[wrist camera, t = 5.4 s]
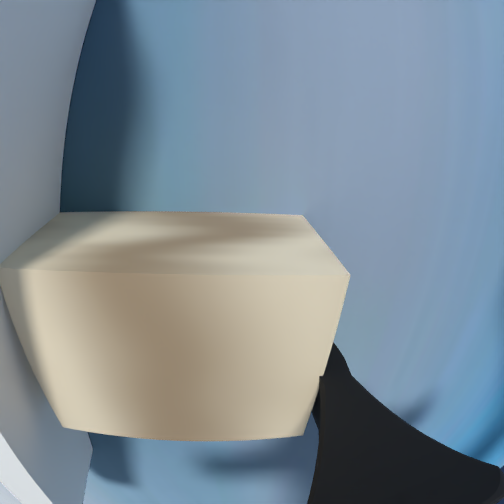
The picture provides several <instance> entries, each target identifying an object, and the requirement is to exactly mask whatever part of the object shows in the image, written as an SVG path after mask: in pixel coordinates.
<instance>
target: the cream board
mask: <svg viewBox="0 0 504 504" xmlns="http://www.w3.org/2000/svg"><path fill="white" fill-rule="evenodd" d="M95 2H96V0H0V264H1V263H2V262H3V261H4V260H5V259H6V258H7V257H8V256H9V255H10V254H12V253H13V252H14V251H15V250H16V249H17V248H18V247H19V246H21V245H22V244H23V243H24V242H25V241H26V240H27V239H29V238H30V237H31V236H32V235H33V234H34V233H36V232H37V231H38V230H39V229H40V228H42V227H43V226H44V225H45V224H46V223H48V222H49V221H50V220H51V219H53V218H54V217H55V216H56V215H58V214H59V213H60V191H61V174H62V162H63V151H64V142H65V134H66V126H67V119H68V113H69V106H70V101H71V95H72V90H73V84H74V80H75V75H76V70H77V66H78V62H79V57H80V53H81V49H82V45H83V42H84V38H85V35H86V31H87V28H88V24H89V21H90V18H91V15H92V11H93V8H94V5H95ZM92 451H93V448H92V445H91V441H90V438H89V435H88V432H87V431H81V430H75V429H70V428H65V427H63V426H62V425H61V423H60V421H59V420H58V418H57V416H56V414H55V413H54V411H53V409H52V407H51V405H50V404H49V402H48V400H47V398H46V396H45V394H44V392H43V390H42V388H41V386H40V384H39V382H38V380H37V378H36V376H35V374H34V372H33V370H32V368H31V365H30V363H29V361H28V359H27V356H26V354H25V352H24V349H23V347H22V345H21V342H20V340H19V337H18V335H17V332H16V329H15V327H14V324H13V321H12V319H11V316H10V313H9V310H8V307H7V304H6V301H5V298H4V295H3V292H2V288H1V285H0V482H1V483H2V484H3V485H4V486H5V487H6V488H7V489H8V490H9V491H10V492H11V493H12V494H13V495H14V496H15V497H16V498H17V499H18V500H19V501H20V502H21V503H22V504H83V500H84V494H85V488H86V482H87V477H88V472H89V466H90V461H91V456H92Z"/></svg>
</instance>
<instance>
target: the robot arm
mask: <svg viewBox="0 0 504 504" xmlns="http://www.w3.org/2000/svg"><path fill="white" fill-rule="evenodd" d="M312 413H313V417H314V419H315V422H316V424H317V427H318V429H319V445H318V453H317V460H316V466H315V472H314V477H313V482H312V486H311V491H310V495H309V499H308V503H307V504H496V503H498V502H499V501H501V500H502V499H503V498H504V474H503V472H502V471H501V469H500V468H499V467H498V466H495V465H492V464H489V463H485V462H482V461H480V460H477V459H474V458H472V457H469V456H467V455H464V454H462V453H460V452H458V451H455V450H453V449H451V448H449V447H447V446H445V445H443V444H441V443H440V442H438V441H436V440H434V439H432V438H430V437H428V436H427V435H425V434H423V433H422V432H420V431H419V430H417V429H415V428H414V427H412V426H411V425H409V424H408V423H406V422H405V421H404V420H402V419H401V418H399V417H398V416H397V415H395V414H394V413H393V412H392V411H390V410H389V409H388V408H387V407H385V406H384V405H383V404H382V403H381V402H379V401H378V400H377V399H376V398H375V397H374V396H373V395H371V394H370V393H369V392H368V391H367V390H366V389H365V388H364V387H363V386H362V385H361V384H360V383H359V382H358V381H357V380H356V379H355V378H354V377H353V376H352V375H351V373H350V371H349V368H348V366H347V363H346V361H345V359H344V357H343V355H342V354H341V352H340V351H339V349H338V348H337V346H336V345H335V344H334V342H333V344H332V348H331V351H330V355H329V358H328V361H327V365H326V368H325V371H324V374H323V376H319V390H318V393H317V396H316V399H315V402H314V405H313V408H312Z"/></svg>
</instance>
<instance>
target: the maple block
mask: <svg viewBox="0 0 504 504" xmlns="http://www.w3.org/2000/svg"><path fill="white" fill-rule="evenodd" d="M349 279H350V274H349V273H348V271H347V270H346V269H345V268H344V266H343V265H342V264H341V262H340V261H339V260H338V259H337V257H336V256H335V255H334V254H333V252H332V251H331V250H330V249H329V247H328V246H327V245H326V244H325V242H324V241H323V240H322V239H321V237H320V236H319V235H318V234H317V232H316V231H315V230H314V229H313V227H312V226H311V225H310V224H309V223H308V221H307V220H306V219H305V218H304V217H303V215H283V214H256V213H222V212H157V211H117V212H60V213H59V214H58V215H56V216H55V217H54V218H53V219H51V220H50V221H49V222H48V223H46V224H45V225H44V226H43V227H42V228H40V229H39V230H38V231H37V232H36V233H34V234H33V235H32V236H31V237H30V238H29V239H27V240H26V241H25V242H24V243H23V244H22V245H21V246H19V247H18V248H17V249H16V250H15V251H14V252H13V253H12V254H10V255H9V256H8V257H7V258H6V259H5V260H4V261H3V262H2V263H1V264H0V285H1V288H2V292H3V295H4V298H5V301H6V304H7V307H8V310H9V313H10V316H11V319H12V321H13V324H14V327H15V329H16V332H17V335H18V337H19V340H20V342H21V345H22V347H23V349H24V352H25V354H26V356H27V359H28V361H29V363H30V365H31V368H32V370H33V372H34V374H35V376H36V378H37V380H38V382H39V384H40V386H41V388H42V390H43V392H44V394H45V396H46V398H47V400H48V402H49V404H50V405H51V407H52V409H53V411H54V413H55V414H56V416H57V418H58V420H59V421H60V423H61V425H62V426H63V427H65V428H70V429H75V430H81V431H87V432H93V433H100V434H107V435H114V436H123V437H132V438H143V439H156V440H175V441H239V440H258V439H271V438H283V437H292V436H301V435H303V434H304V431H305V428H306V425H307V422H308V420H309V417H310V414H311V411H312V408H313V405H314V402H315V399H316V396H317V393H318V390H319V376H323V374H324V371H325V368H326V365H327V361H328V358H329V355H330V351H331V348H332V344H333V341H334V337H335V334H336V330H337V326H338V323H339V319H340V315H341V311H342V307H343V303H344V299H345V295H346V291H347V287H348V283H349Z"/></svg>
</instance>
